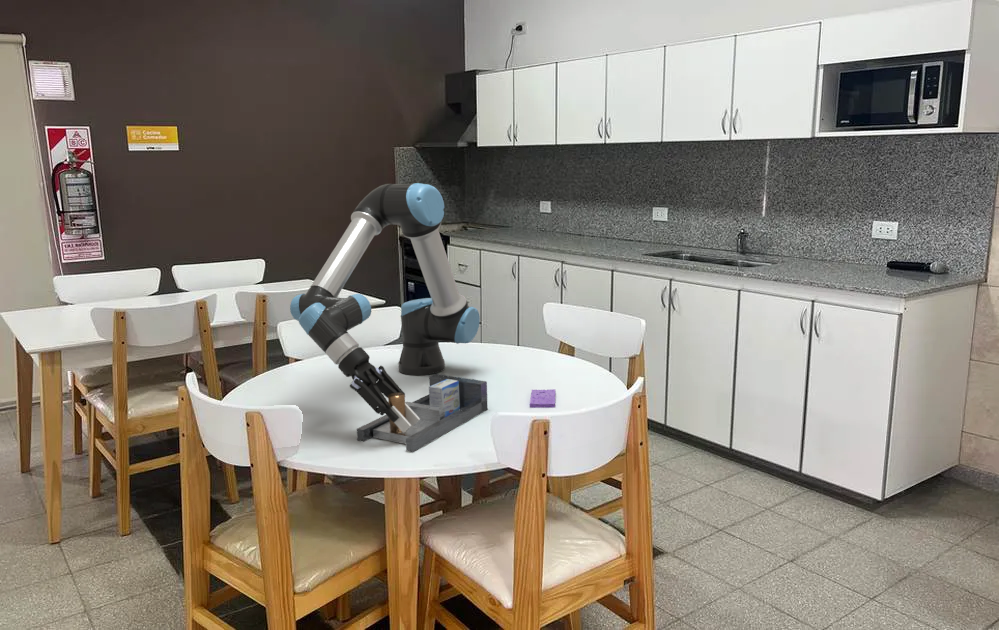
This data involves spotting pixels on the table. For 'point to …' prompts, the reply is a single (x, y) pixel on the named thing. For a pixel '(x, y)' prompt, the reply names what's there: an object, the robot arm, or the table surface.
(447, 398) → the medicine box
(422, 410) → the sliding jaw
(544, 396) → the sponges
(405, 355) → the robot arm
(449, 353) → the table surface
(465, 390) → the vise frame
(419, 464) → the table surface
